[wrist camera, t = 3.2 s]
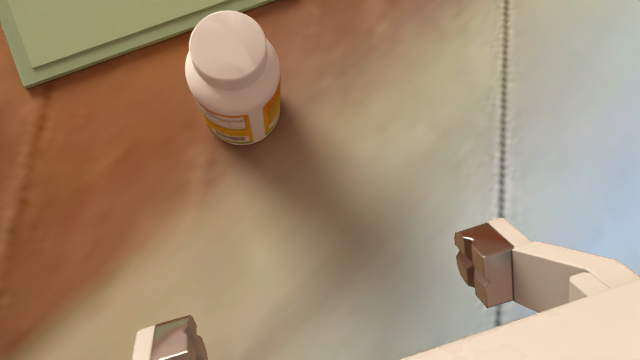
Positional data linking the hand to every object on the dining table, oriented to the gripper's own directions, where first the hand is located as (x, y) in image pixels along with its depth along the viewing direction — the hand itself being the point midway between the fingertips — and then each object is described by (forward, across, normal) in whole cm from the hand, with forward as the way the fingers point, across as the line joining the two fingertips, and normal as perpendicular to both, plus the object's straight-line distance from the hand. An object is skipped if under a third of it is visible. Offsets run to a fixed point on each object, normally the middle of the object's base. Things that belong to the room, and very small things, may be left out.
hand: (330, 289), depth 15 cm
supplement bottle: (+22, +1, 0) cm, 23 cm away
